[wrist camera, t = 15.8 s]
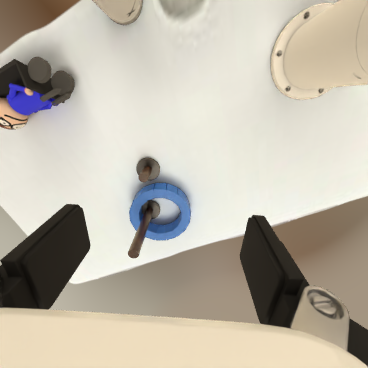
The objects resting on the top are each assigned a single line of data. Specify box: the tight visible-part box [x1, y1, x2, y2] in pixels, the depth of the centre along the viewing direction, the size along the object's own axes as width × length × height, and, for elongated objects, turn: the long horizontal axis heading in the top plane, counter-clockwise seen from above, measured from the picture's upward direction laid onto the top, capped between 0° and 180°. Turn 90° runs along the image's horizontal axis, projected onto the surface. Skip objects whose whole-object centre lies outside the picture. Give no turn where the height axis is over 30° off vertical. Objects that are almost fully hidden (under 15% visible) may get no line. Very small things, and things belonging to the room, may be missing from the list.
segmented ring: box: [129, 183, 191, 240], centre depth 41 cm, size 13×13×3 cm
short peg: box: [137, 158, 160, 182], centre depth 37 cm, size 5×5×5 cm
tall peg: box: [128, 200, 160, 258], centre depth 37 cm, size 5×5×14 cm
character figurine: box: [0, 57, 74, 129], centre depth 30 cm, size 8×7×15 cm
